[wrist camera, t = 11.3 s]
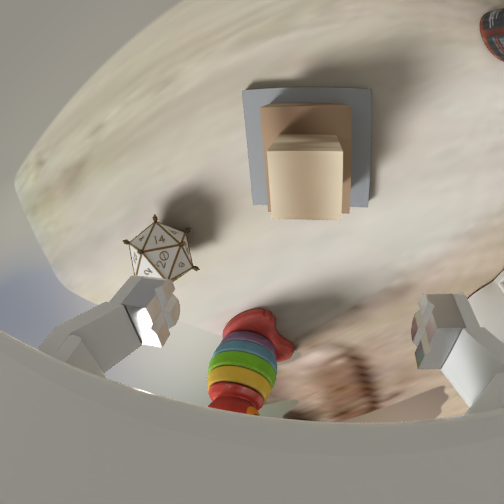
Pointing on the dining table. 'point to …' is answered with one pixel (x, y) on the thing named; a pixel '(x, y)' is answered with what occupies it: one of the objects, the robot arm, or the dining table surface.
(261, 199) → the base plate
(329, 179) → the oak block
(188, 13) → the dining table surface
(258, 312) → the stacking bear
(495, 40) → the supplement bottle
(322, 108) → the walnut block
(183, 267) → the game die
